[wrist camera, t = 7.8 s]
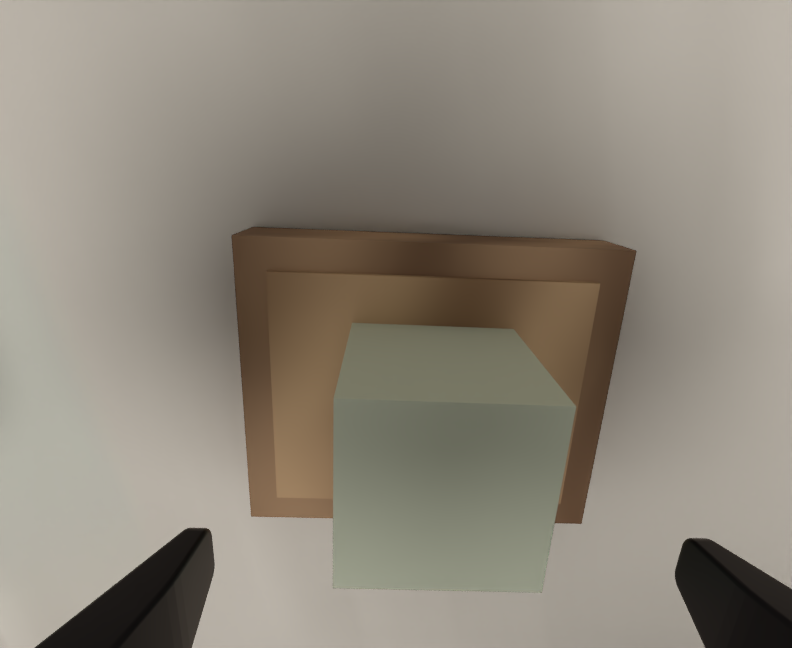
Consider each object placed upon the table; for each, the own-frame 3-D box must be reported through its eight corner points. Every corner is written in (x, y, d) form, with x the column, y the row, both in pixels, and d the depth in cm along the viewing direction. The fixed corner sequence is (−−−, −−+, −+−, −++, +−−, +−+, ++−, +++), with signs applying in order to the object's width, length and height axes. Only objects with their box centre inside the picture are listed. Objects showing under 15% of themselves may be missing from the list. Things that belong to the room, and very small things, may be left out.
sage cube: (513, 328, 14) (576, 406, 10) (495, 466, 16) (541, 592, 11) (352, 322, 14) (333, 398, 9) (349, 462, 16) (333, 587, 11)
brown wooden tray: (603, 240, 16) (639, 251, 14) (560, 485, 19) (583, 527, 17) (252, 227, 16) (229, 236, 13) (266, 477, 19) (249, 520, 16)
